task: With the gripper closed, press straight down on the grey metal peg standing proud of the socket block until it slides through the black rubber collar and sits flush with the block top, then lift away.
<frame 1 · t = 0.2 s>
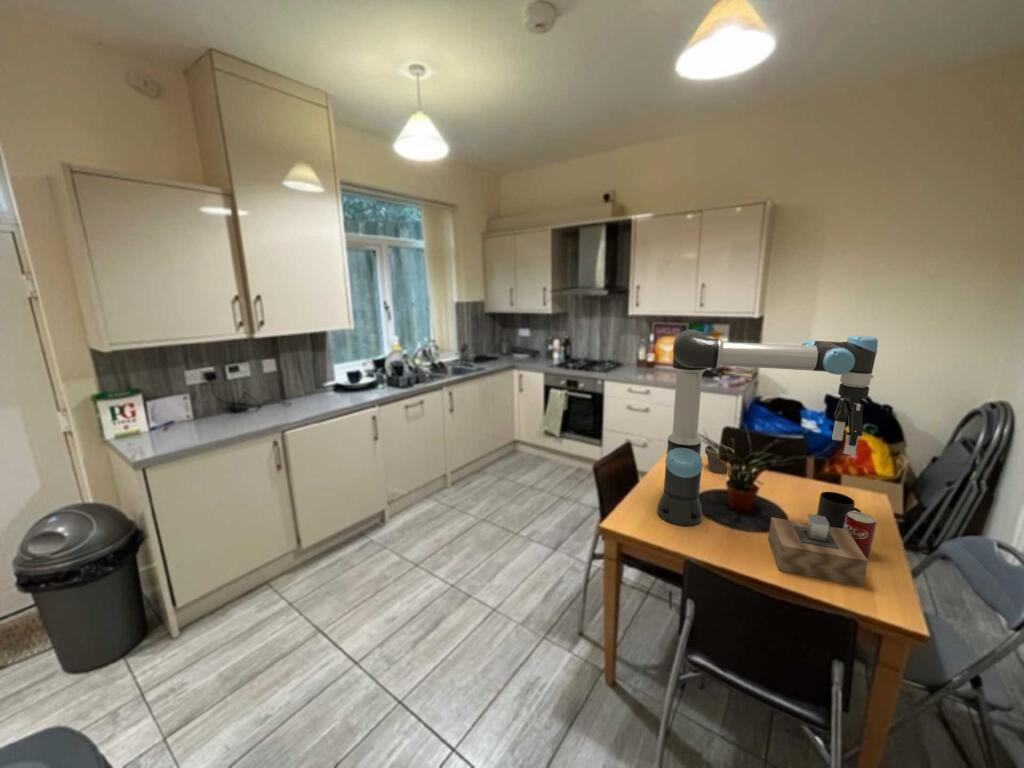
hand: (842, 446, 141), 28 cm above the table, fingers open, 13 cm apart
peg: (816, 530, 125), point 10 cm above the table, slide at 0.0 cm
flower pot: (717, 470, 189), on the table
socket block: (811, 560, 127), on the table
soda can: (853, 552, 131), on the table
mug: (837, 523, 147), on the table
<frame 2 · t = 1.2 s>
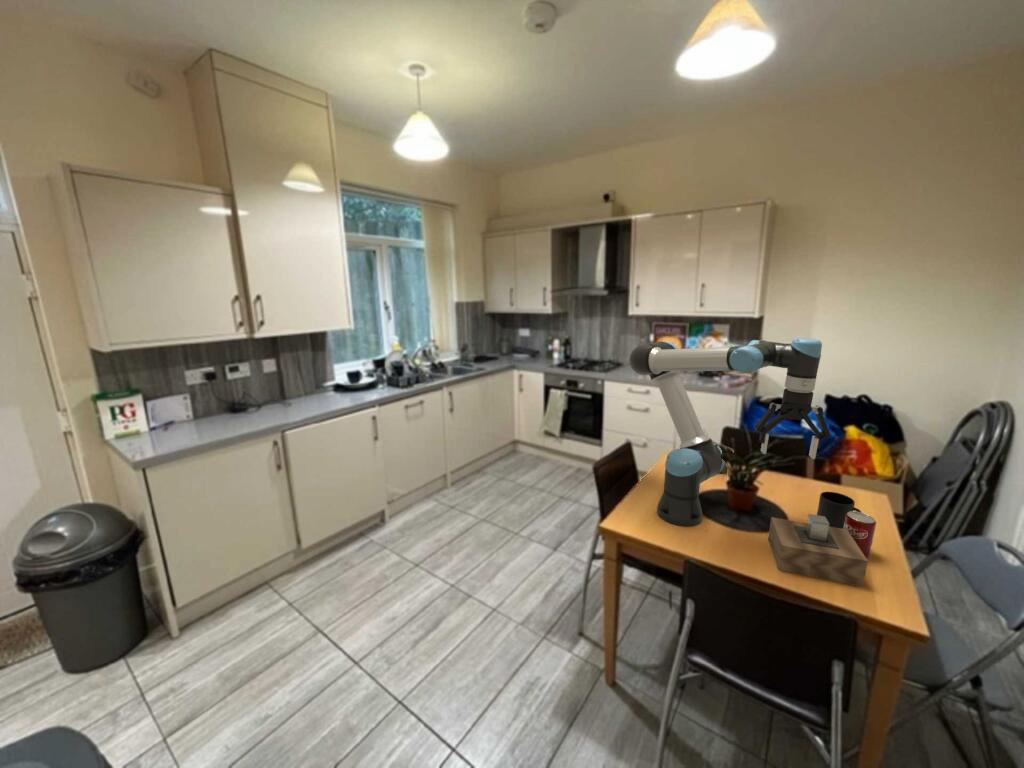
hand: (787, 454, 134), 28 cm above the table, fingers open, 13 cm apart
nothing on the table moved.
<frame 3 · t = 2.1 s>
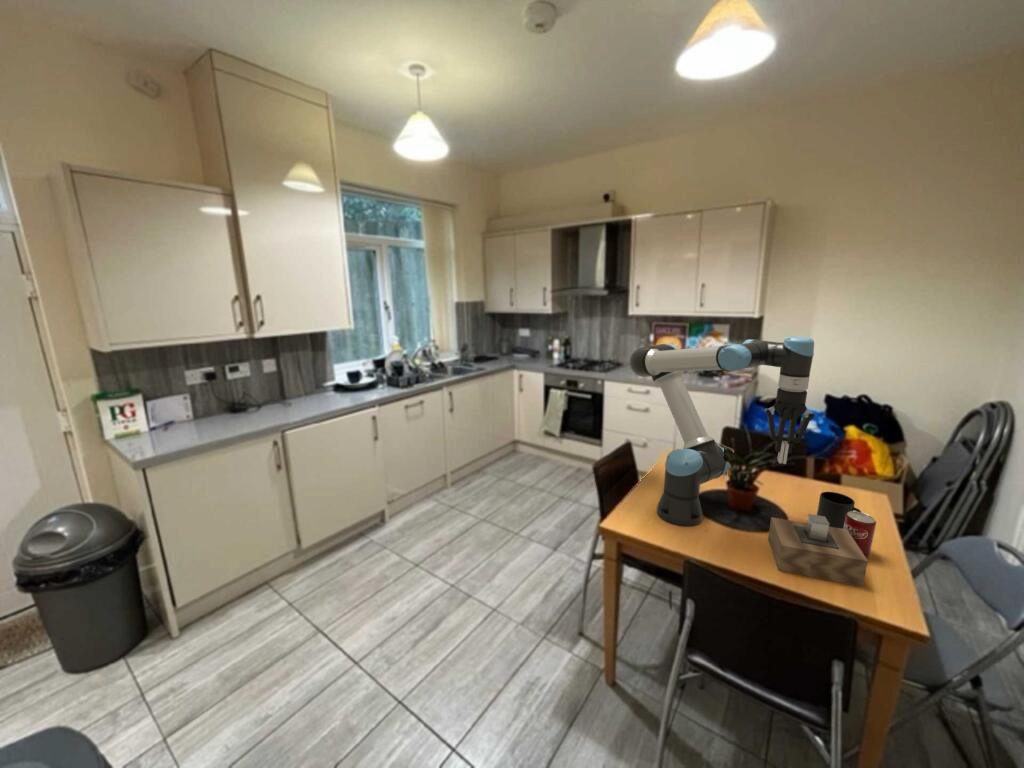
hand: (781, 461, 133), 26 cm above the table, fingers closed
nothing on the table moved.
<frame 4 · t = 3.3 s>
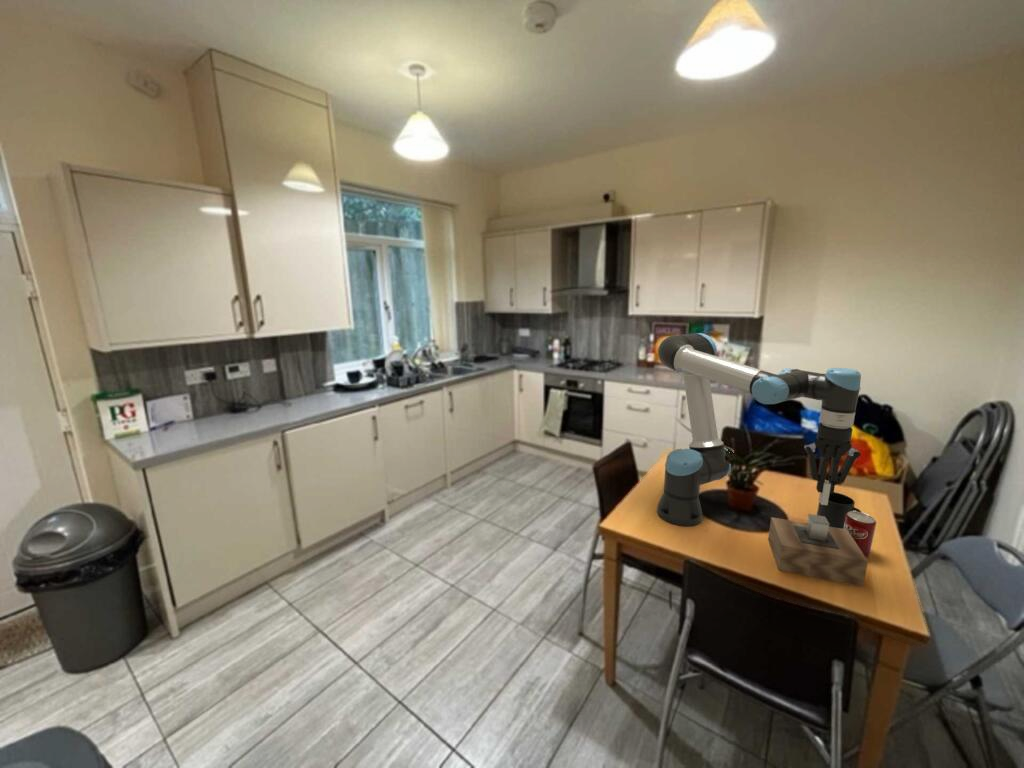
hand: (822, 502, 122), 19 cm above the table, fingers closed
nothing on the table moved.
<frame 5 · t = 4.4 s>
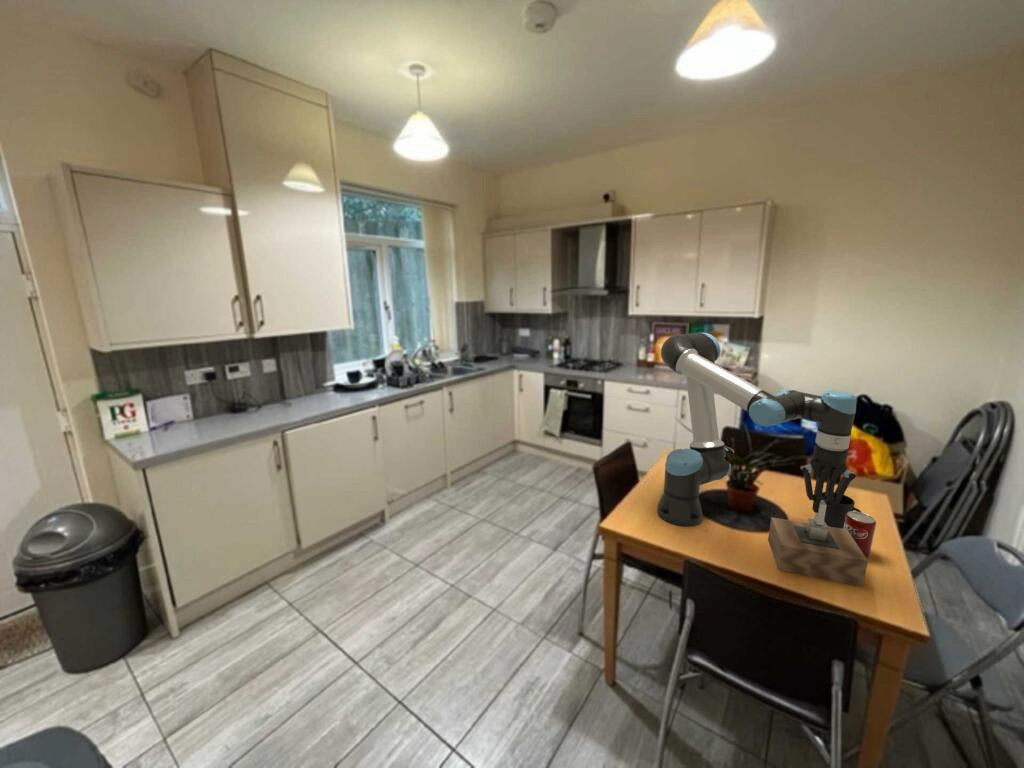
hand: (818, 522, 124), 13 cm above the table, fingers closed
peg: (815, 534, 125), point 9 cm above the table, slide at 1.4 cm, touching gripper
everything else where it was.
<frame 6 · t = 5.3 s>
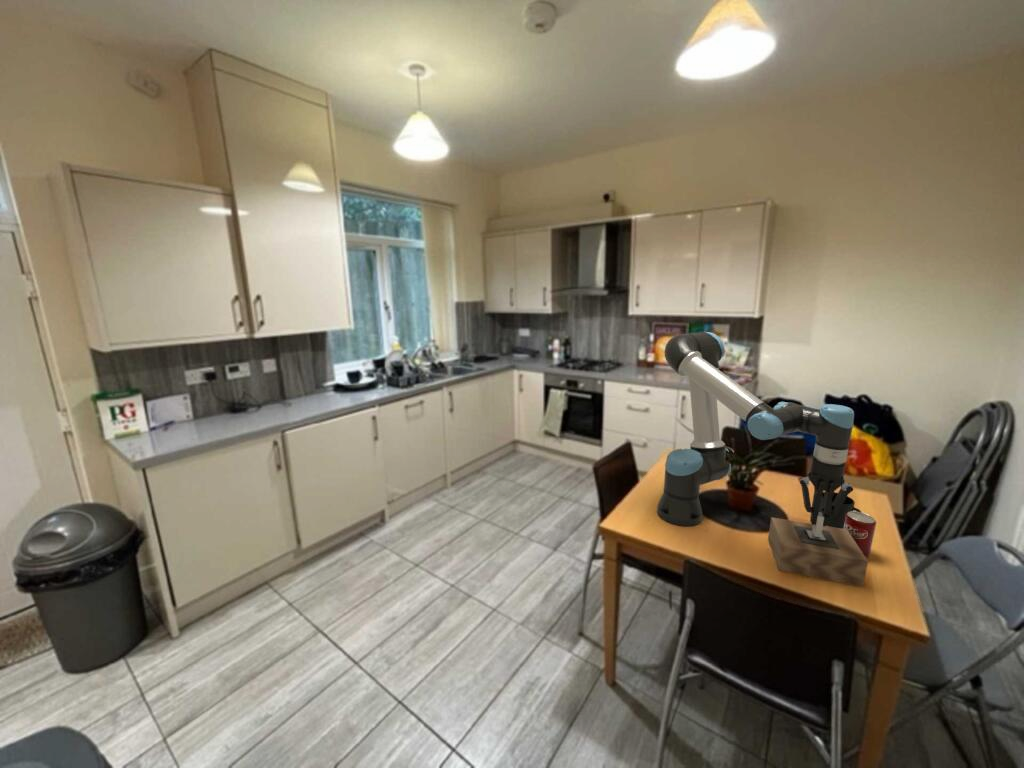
hand: (816, 534, 125), 9 cm above the table, fingers closed
peg: (813, 546, 126), point 5 cm above the table, slide at 5.3 cm, touching gripper
everything else where it was.
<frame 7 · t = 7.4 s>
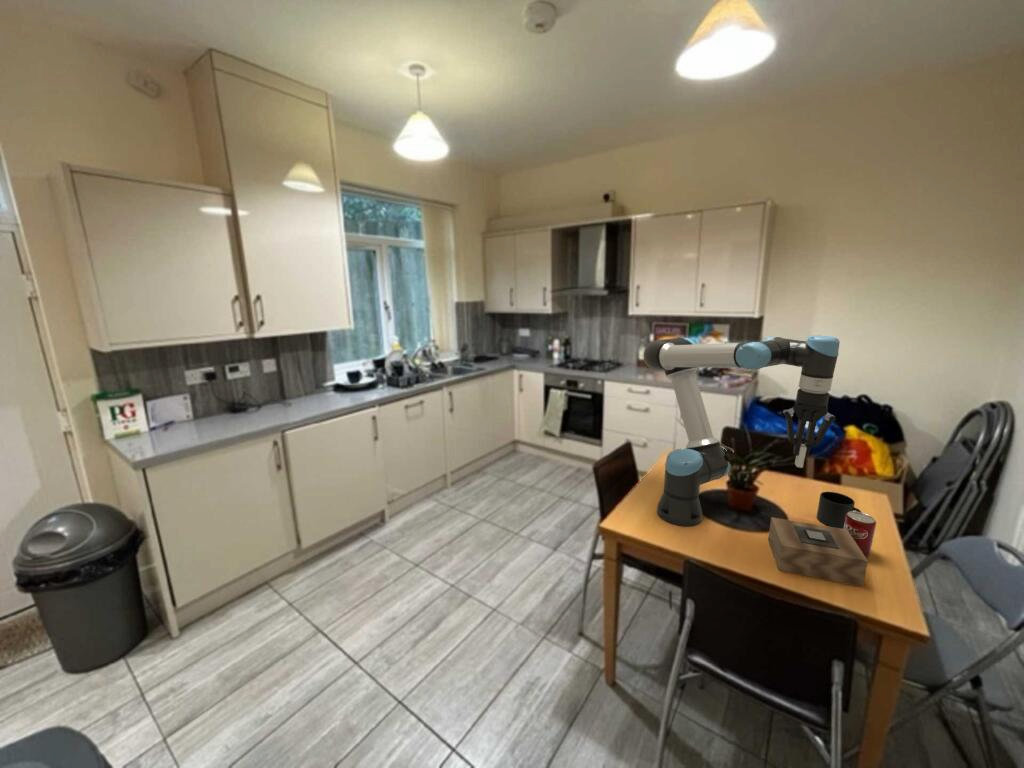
hand: (798, 465, 128), 28 cm above the table, fingers closed
peg: (813, 546, 126), point 5 cm above the table, slide at 5.4 cm
everything else where it was.
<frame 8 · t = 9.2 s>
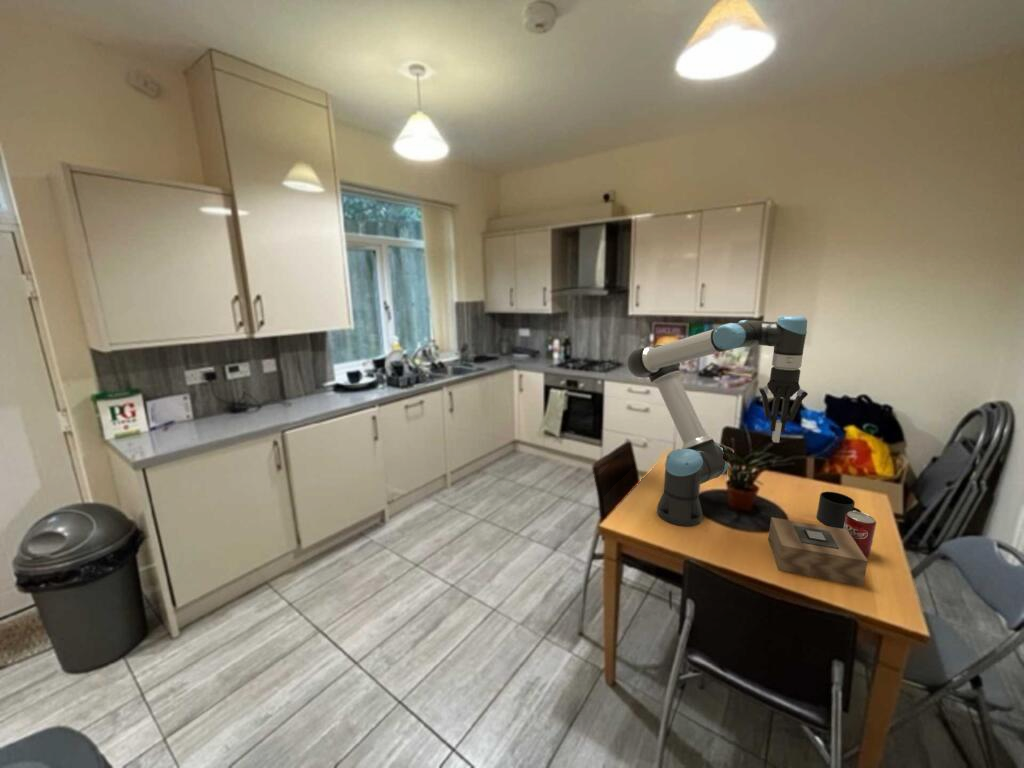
hand: (775, 440, 134), 32 cm above the table, fingers closed
nothing on the table moved.
at the end: peg slide at 5.4 cm; the gripper is holding nothing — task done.
